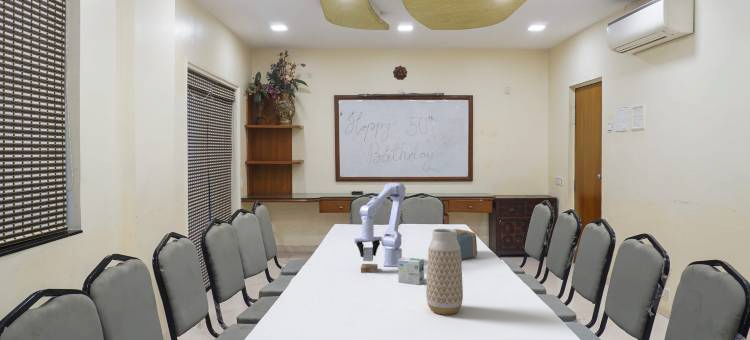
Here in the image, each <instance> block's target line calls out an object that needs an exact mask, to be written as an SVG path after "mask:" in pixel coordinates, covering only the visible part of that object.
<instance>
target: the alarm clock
mask: <svg viewBox="0 0 750 340" xmlns="http://www.w3.org/2000/svg"><path fill="white" fill-rule="evenodd" d="M452 229H453V228H452ZM453 230H456V231H457V241H458V243H459V245H460V249H461V261H463V260H469V259H474V258H477V256H478V245H477V235H476V233H474V232H472V231H470V230H466V229H459V228H454V229H453Z"/></svg>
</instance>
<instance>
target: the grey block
mask: <svg viewBox="0 0 750 340" xmlns="http://www.w3.org/2000/svg"><path fill="white" fill-rule="evenodd" d="M362 260H363V261H362V262H373V260H374V255H373V246H371V247H369V246H368V247H367V246H364V247H363V257H362Z"/></svg>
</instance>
